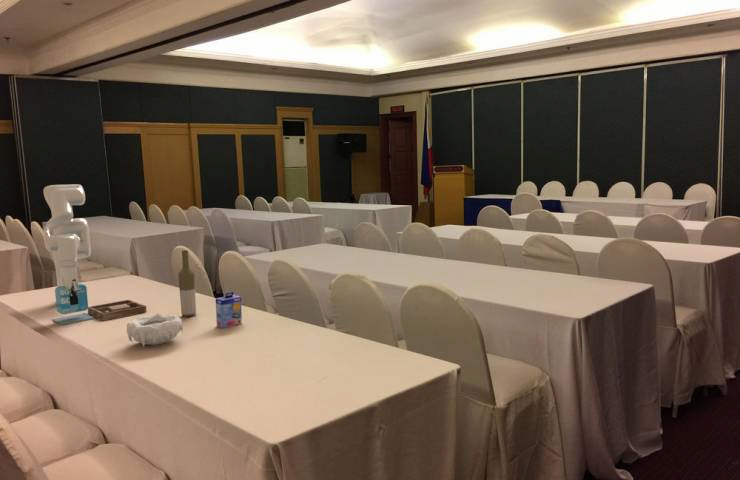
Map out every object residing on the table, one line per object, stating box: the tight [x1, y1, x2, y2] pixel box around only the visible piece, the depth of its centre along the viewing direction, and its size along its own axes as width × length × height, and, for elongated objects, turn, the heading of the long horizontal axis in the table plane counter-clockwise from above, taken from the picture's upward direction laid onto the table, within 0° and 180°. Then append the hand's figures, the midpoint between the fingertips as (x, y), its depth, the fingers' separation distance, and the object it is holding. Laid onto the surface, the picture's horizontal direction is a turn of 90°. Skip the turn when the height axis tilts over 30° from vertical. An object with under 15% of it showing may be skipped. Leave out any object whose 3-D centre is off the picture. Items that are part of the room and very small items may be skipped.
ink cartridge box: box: [215, 291, 243, 329], centre depth 250 cm, size 10×6×14 cm, turn 136°
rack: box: [87, 299, 148, 321], centre depth 276 cm, size 19×20×3 cm
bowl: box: [126, 313, 184, 348], centre depth 227 cm, size 21×20×10 cm
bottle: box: [177, 249, 197, 318], centre depth 266 cm, size 7×7×30 cm
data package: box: [54, 282, 89, 315], centre depth 264 cm, size 12×4×12 cm, turn 134°
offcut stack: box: [105, 304, 130, 313], centre depth 273 cm, size 7×10×4 cm
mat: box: [51, 312, 96, 326], centre depth 265 cm, size 12×14×1 cm
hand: (72, 303), depth 264 cm, fingers closed on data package, 4 cm apart
